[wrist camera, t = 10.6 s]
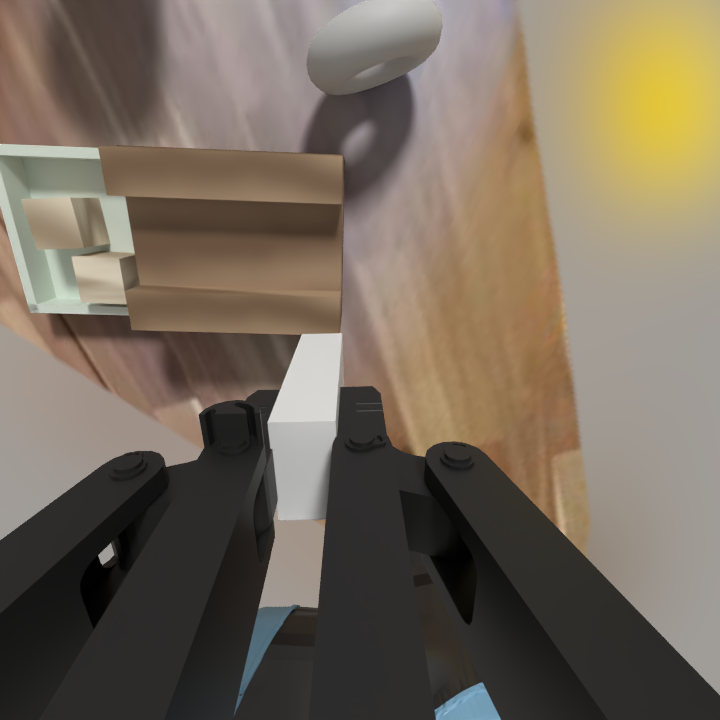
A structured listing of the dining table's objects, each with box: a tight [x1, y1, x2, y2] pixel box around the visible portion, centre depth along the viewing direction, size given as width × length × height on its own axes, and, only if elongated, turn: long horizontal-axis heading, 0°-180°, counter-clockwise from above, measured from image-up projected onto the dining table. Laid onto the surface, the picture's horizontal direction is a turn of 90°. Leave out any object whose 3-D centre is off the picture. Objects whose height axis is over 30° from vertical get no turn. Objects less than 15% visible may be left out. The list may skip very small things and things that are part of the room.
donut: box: [307, 0, 442, 95], centre depth 29 cm, size 10×3×10 cm, turn 107°
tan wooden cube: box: [21, 198, 110, 250], centre depth 35 cm, size 4×4×4 cm
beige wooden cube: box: [72, 251, 140, 304], centre depth 37 cm, size 4×4×4 cm
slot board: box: [98, 145, 345, 335], centre depth 35 cm, size 14×17×8 cm
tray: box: [0, 144, 135, 315], centre depth 37 cm, size 14×12×3 cm
